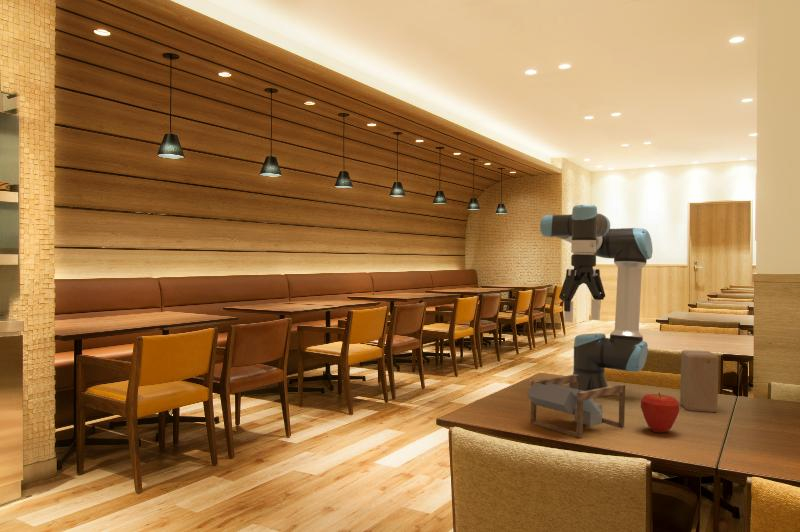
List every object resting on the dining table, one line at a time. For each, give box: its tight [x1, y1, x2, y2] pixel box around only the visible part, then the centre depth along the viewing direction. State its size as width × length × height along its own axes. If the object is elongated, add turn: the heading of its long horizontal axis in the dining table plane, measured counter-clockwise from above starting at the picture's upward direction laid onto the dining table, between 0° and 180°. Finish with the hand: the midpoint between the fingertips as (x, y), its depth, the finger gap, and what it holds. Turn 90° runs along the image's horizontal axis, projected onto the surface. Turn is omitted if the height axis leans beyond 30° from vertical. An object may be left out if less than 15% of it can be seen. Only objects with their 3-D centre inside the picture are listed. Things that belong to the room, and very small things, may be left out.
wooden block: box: [679, 349, 720, 413], centre depth 207 cm, size 10×10×20 cm
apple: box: [640, 391, 680, 433], centre depth 178 cm, size 11×11×12 cm
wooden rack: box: [530, 374, 626, 439], centre depth 184 cm, size 22×19×13 cm
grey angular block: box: [526, 382, 604, 416], centre depth 180 cm, size 17×16×9 cm
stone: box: [574, 402, 603, 427], centre depth 187 cm, size 6×6×7 cm
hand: (582, 321), depth 185 cm, fingers open, 13 cm apart
